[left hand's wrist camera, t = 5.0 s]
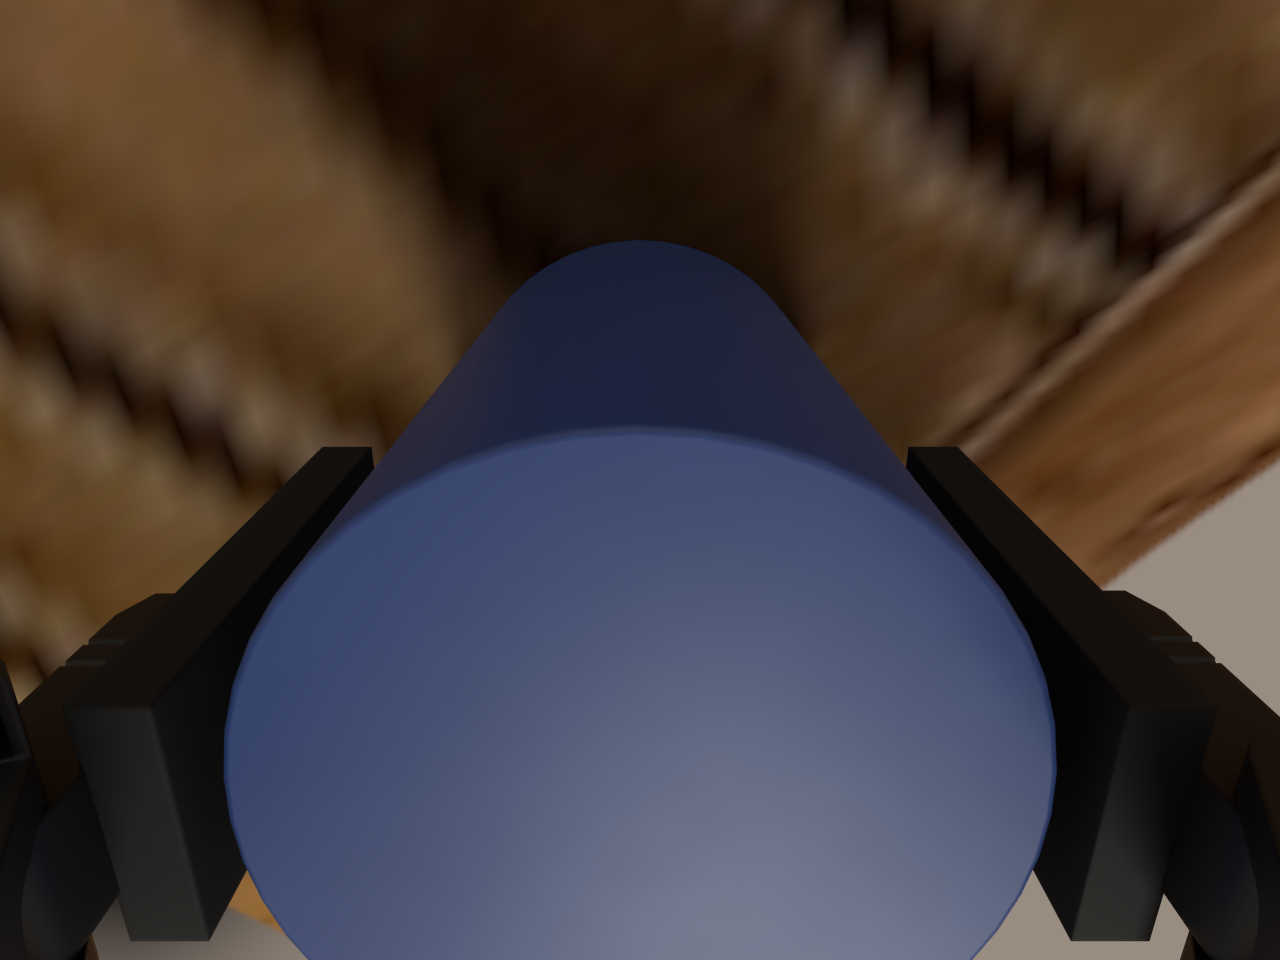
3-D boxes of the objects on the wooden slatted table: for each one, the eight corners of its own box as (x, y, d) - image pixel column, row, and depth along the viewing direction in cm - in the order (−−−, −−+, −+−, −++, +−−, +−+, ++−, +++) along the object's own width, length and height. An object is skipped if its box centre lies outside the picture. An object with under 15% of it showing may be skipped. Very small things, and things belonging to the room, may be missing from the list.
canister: (460, 550, 20) (240, 1064, 9) (477, 217, 18) (189, 369, 6) (777, 584, 21) (941, 1122, 10) (844, 263, 18) (1185, 486, 7)
